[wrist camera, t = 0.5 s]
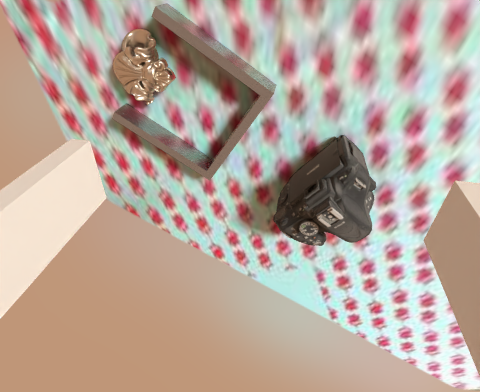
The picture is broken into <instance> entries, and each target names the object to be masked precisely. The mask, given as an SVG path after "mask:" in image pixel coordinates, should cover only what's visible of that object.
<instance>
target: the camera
mask: <svg viewBox="0 0 480 392" xmlns="http://www.w3.org/2000/svg"><path fill="white" fill-rule="evenodd" d="M375 188H376V182H375V181H374V180H373V179H372V178H371V177H370V176H369V173H368V169H367V166H366V163H365V159H364V156H363V153H362V152H361V151H360V150H359V149H358V148H357V146H356V145H355V144H354V143H353V142H351V141H350V140H349V139H348V138H347V137H346V136H344V135H341V136H339V137H338V138H337V139H335V140H334V141H333V142H332V143H331V144H329V145H328V146H327V147H326V148H325V149H323V150H322V151H321V152H320V153H319V154H318V155H316V156H315V157H314V158H313V159H312V160H310V161H309V162H308V163H306V164H305V165H304V166H303V167H302V168H300V169H299V170H298V171H297V172H296V173H295V174H294V175H293V176H292V177H291V178H290V181H289V182H288V183H287V184H286V186H285V187H284V188H283V190H282V191H281V193H280V197H279V199H278V204H277V213H276V214H275V215H274V218H273V220H274V222H275V223H276V224H277V226H278V228H279V229H280V230H281V231H282V232H283V233H284V234H285V235H286V236H287V237H289V238H292V239H294V240H296V241H299V242H302V243H305V244H308V245H319V246H322V245H323V244H324V242H325V241H326V234H325V233H324V232H328V233H331V234H334V235H336V236H338V237H339V238H341V239H343V240H345V241H347V242H351V243H352V242H357V241H359V240H361V239H363V238H365V237H366V236H367V235H369V234H370V232H371V231H372V222H371V218H370V215H369V212H370V210H371V208H372V205H373V202H374V195H373V192H372V191H373V190H375Z"/></svg>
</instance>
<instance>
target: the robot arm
mask: <svg viewBox="0 0 480 392" xmlns="http://www.w3.org/2000/svg"><path fill="white" fill-rule="evenodd" d="M105 199H106V195H105V191H104V188H103V185H102V181H101V178H100V174H99V171H98V168H97V164H96V161H95V158H94V154H93V151H92V148H91V144H90V141H86V140H77V139H71V140H69V141H68V142H66V143H65V144H64V145H62V146H61V147H60V148H58V149H57V150H55V151H54V152H53V153H51V154H50V155H48V156H47V157H46V158H44V159H43V160H42V161H40V162H39V163H37V164H36V165H35V166H33V167H32V168H31V169H29V170H28V171H27V172H25V173H24V174H22V175H21V176H20V177H18V178H17V179H15V180H14V181H13V182H11V183H10V184H9V185H7V186H6V187H4V188H3V189H2V190H0V318H1V317H2V316H3V315H4V314H5V313H6V312H7V310H8V309H9V308H10V307H11V306H12V305H13V304H14V302H15V301H16V300H17V299H18V298H19V297H20V296H21V295H22V293H23V292H24V291H25V290H26V289H27V288H28V287H29V285H30V284H31V283H32V282H33V281H34V280H35V278H36V277H37V276H38V275H39V274H40V273H41V272H42V271H43V269H44V268H45V267H46V266H47V265H48V264H49V263H50V262H51V260H52V259H53V258H54V257H55V256H56V255H57V253H58V252H59V251H60V250H61V249H62V248H63V247H64V245H65V244H66V243H67V242H68V241H69V240H70V239H71V238H72V236H73V235H74V234H75V233H76V232H77V231H78V230H79V229H80V227H81V226H82V225H83V224H84V223H85V222H86V221H87V219H88V218H89V217H90V216H91V215H92V214H93V213H94V211H95V210H96V209H97V208H98V207H99V206H100V205H101V203H102V202H103V201H104V200H105ZM424 242H425V245H426V247H427V250H428V252H429V255H430V257H431V259H432V262H433V264H434V267H435V269H436V272H437V274H438V276H439V279H440V281H441V284H442V286H443V288H444V291H445V293H446V296H447V298H448V301H449V303H450V305H451V308H452V310H453V313H454V315H455V317H456V320H457V322H458V325H459V327H460V330H461V332H462V334H463V337H464V339H465V342H466V344H467V346H468V349H469V351H470V354H471V356H472V359H473V361H474V363H475V366H476V368H477V371H478V373H479V375H480V183H472V182H462V181H455V182H454V184H453V185H452V187H451V189H450V191H449V193H448V195H447V197H446V199H445V201H444V203H443V204H442V206H441V208H440V210H439V212H438V214H437V216H436V218H435V220H434V222H433V223H432V225H431V227H430V229H429V231H428V233H427V235H426V237H425V239H424Z"/></svg>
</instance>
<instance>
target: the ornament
mask: <svg viewBox="0 0 480 392" xmlns="http://www.w3.org/2000/svg"><path fill="white" fill-rule="evenodd" d="M155 46H156V41H155V38H153V37H151V33H150V32H149V31H147V30H144V29H135V30H132V31H130V32H129V33H128V34H127V35H126V36H125V38H124V40H123V42H122V49H123V51H122V52H120V53H118V54H117V55H116V56H115V58H114V60H113V70H114V72H115V75H116V77H117V78H118V80H119V81H120V82H121V83H122V84H123V85H124V86H123V87H124V89H125V90H126V91H127V93H128V94H131V95H133V96H135V99H136V100H137V101H145V102H146V105H149V104H150V103H152V102H153V101H154V97H153V95H154V94H153V92H154V90H155V91H156V92H162V91H164V90H165V89H166V87H167V86H168V85H169V84H170V83H171V82H172V81H174V79H175V78H176V77H175V75H174V73H173V71H172V70H171V69H170V68H167V67H168V64H167V62H166V60H165V59H164V58H160V59H159V56H158V52H157V50H156V48H155ZM133 48H135V49H134V50H133ZM138 54H139V55H138ZM140 81H142V84H141V83H140Z"/></svg>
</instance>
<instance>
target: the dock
mask: <svg viewBox="0 0 480 392" xmlns="http://www.w3.org/2000/svg"><path fill="white" fill-rule="evenodd" d="M152 17H153V18H154V19H156V20H157V21H159V22H160V23H161V24H163V25H164V26H165V27H167V28H168V29H170V30H171V31H172V32H174V33H175V34H176V35H178V36H179V37H181V38H182V39H183V40H185V41H186V42H187V43H189V44H190V45H192V46H193V47H194V48H196V49H197V50H198V51H200V52H201V53H203V54H204V55H205V56H207V57H208V58H209V59H211V60H212V61H214V62H215V63H216V64H218V65H219V66H220V67H222V68H223V69H225V70H226V71H227V72H229V73H230V74H231V75H233V76H234V77H236V78H237V79H238V80H240V81H241V82H242V83H244V84H245V85H247V86H248V87H249V88H251V89H252V90H253V91H255V92H256V93H258V94H259V95H258V96H257V97H256V99H255V100H254V102H253V103H252V105H251V106H250V107H249V109H248V110H247V112H246V113H245V114H244V116H243V117H242V119H241V120H240V122H239V123H238V124H237V126H236V127H235V129H234V130H233V132H232V133H231V134H230V136H229V137H228V139H227V140H226V141H225V143H224V144H223V146H222V147H221V149H220V150H219V151H218V153H217V154H216V156H215V157H214V158H213V160H212V159H211V158H209V157H208V156H206V155H205V154H203V153H202V152H200V151H199V150H197V149H196V148H194V147H192V146H191V145H189V144H188V143H186V142H185V141H183V140H182V139H180V138H179V137H177V136H176V135H174V134H173V133H171V132H169V131H168V130H166V129H165V128H163V127H162V126H160V125H159V124H157V123H156V122H154V121H153V120H151V119H149V118H148V117H146V116H145V115H143V114H142V113H140V112H139V111H137V110H136V109H134V108H133V107H131V106H129V105H128V104H125V105H124V106H122V107H121V108H120V109H118V110H117V111H115V112H114V115H113V117H112V119H114V120H115V121H117V122H118V123H120V124H121V125H123V126H125V127H126V128H128V129H129V130H131V131H132V132H134V133H136V134H137V135H139V136H140V137H142V138H144V139H145V140H147V141H148V142H150V143H151V144H153V145H155V146H156V147H158V148H159V149H161V150H162V151H164V152H166V153H167V154H169V155H170V156H172V157H174V158H175V159H177V160H178V161H180V162H181V163H183V164H185V165H186V166H188V167H189V168H191V169H192V170H194V171H196V172H197V173H199V174H200V175H202V176H204V177H205V178H207V179H208V180H210V179H211V178H212V177H213V175H214V174H215V173H216V171H217V170H218V169H219V167H220V166H221V164H222V163H223V162H224V160H225V159H226V158H227V156H228V155H229V154H230V152H231V151H232V150H233V148H234V147H235V146H236V144H237V143H238V141H239V140H240V139H241V137H242V136H243V135H244V133H245V132H246V131H247V129H248V128H249V127H250V125H251V124H252V122H253V121H254V120H255V118H256V117H257V116H258V114H259V113H260V112H261V110H262V109H263V108H264V106H265V105H266V104H267V102H268V101H269V99H270V98H271V97H272V95H273V94H274V91H275V88H276V84H274V83H273V82H272V81H270V80H269V79H268V78H266V77H265V76H264V75H262V74H261V73H260V72H258V71H257V70H256V69H254V68H253V67H252V66H250V65H249V64H247V63H246V62H245V61H243V60H242V59H241V58H239V57H238V56H237V55H235V54H234V53H233V52H231V51H230V50H229V49H227V48H226V47H225V46H223V45H222V44H221V43H219V42H218V41H217V40H215V39H214V38H213V37H211V36H210V35H209V34H207V33H206V32H205V31H203V30H202V29H201V28H199V27H198V26H196V25H195V24H194V23H192V22H191V21H190V20H188V19H187V18H186V17H184V16H183V15H182V14H180V13H179V12H178V11H176V10H175V9H174V8H172V7H171V6H170V5H168V4H163V5H159V6H155V9H154V12H153V14H152Z"/></svg>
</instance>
